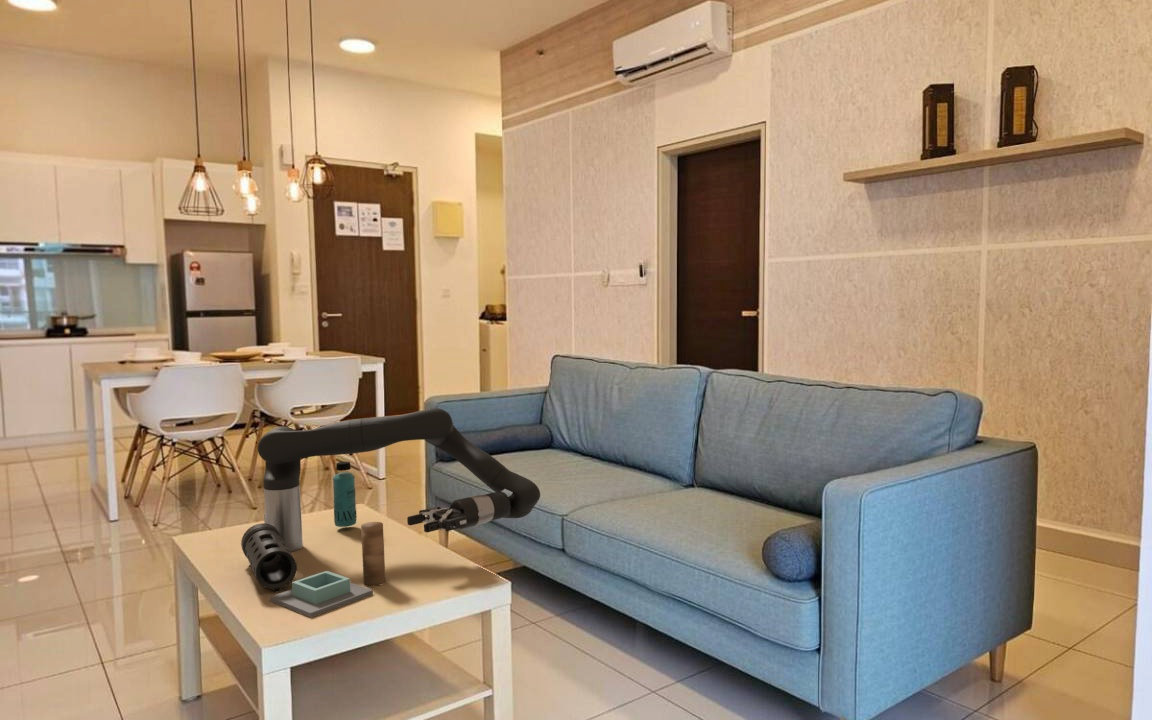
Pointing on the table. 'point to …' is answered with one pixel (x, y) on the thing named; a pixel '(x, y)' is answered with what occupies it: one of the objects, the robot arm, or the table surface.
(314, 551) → the table surface
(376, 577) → the walnut peg
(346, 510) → the beverage bottle
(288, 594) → the socket stand
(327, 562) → the table surface
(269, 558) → the muzzle brake
